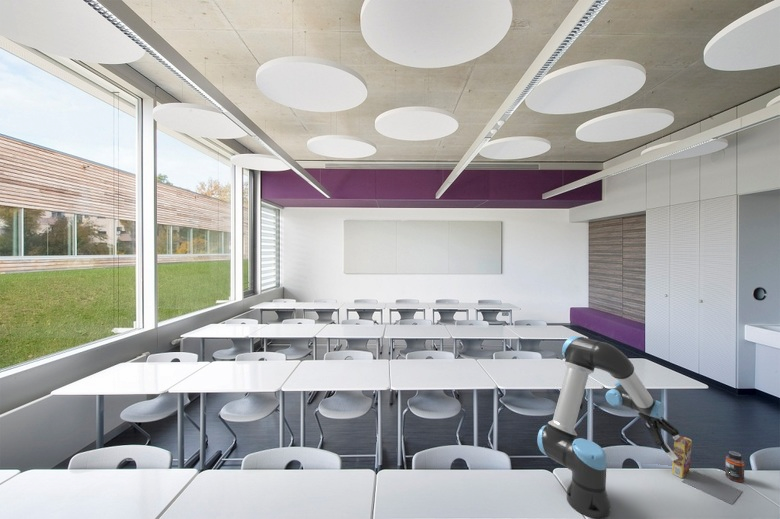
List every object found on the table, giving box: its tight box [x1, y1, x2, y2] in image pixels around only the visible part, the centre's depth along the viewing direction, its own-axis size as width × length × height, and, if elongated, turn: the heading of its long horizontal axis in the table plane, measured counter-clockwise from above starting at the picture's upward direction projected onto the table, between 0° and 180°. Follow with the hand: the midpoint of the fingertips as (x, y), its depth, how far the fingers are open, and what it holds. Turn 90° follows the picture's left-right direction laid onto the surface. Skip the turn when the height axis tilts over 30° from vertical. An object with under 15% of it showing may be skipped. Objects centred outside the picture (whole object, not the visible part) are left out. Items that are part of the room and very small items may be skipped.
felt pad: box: [681, 470, 743, 505], centre depth 149 cm, size 16×14×1 cm
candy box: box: [671, 435, 693, 479], centre depth 158 cm, size 9×4×15 cm, turn 123°
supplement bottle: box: [724, 450, 745, 483], centre depth 155 cm, size 6×6×11 cm
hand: (681, 454), depth 159 cm, fingers open, 13 cm apart
